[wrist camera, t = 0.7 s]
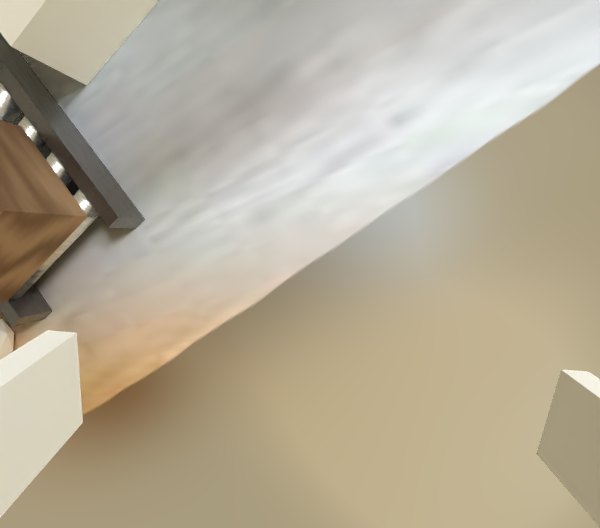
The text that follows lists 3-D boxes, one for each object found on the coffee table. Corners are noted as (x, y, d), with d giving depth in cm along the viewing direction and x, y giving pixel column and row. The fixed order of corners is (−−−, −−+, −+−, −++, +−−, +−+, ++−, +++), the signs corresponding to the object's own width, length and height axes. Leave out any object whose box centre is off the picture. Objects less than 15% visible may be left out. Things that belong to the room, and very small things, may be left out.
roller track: (5, 34, 42) (-39, 11, 37) (144, 219, 39) (114, 217, 35) (-77, 145, 46) (-126, 135, 42) (44, 318, 43) (6, 327, 39)
